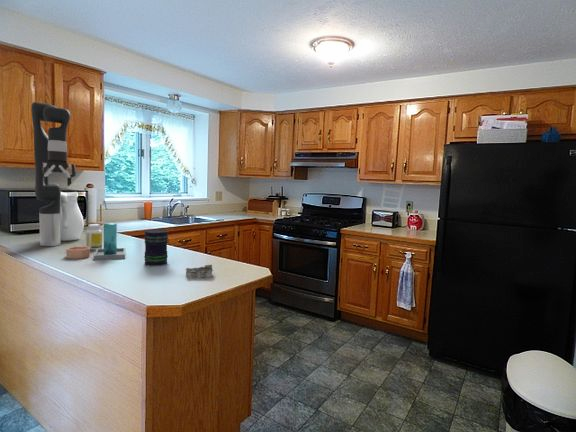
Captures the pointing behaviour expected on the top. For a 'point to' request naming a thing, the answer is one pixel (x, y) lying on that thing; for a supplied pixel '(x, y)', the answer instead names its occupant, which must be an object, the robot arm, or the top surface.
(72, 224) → the pitcher
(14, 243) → the top surface
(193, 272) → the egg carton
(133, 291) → the top surface
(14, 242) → the top surface
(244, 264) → the top surface
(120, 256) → the tray
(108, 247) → the bottle
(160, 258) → the dark blue barrel
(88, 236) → the supplement bottle
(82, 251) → the peach octagonal bowl
